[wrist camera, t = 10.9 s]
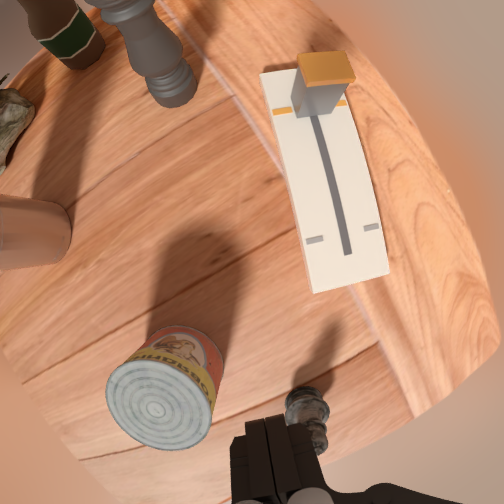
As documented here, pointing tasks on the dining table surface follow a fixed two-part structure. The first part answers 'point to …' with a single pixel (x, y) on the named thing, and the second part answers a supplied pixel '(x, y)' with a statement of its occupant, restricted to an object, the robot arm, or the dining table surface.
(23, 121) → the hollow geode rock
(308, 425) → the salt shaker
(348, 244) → the fader console
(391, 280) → the dining table surface
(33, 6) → the beer bottle
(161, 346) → the canned food
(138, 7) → the candle holder
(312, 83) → the fader knob
